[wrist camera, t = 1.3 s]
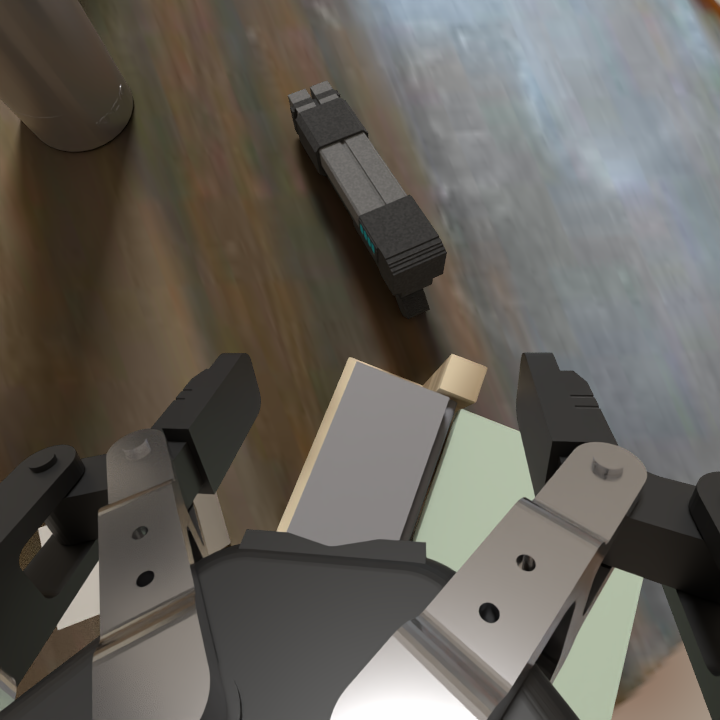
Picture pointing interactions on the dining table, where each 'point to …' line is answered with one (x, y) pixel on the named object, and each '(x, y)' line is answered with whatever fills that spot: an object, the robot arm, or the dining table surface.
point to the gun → (370, 195)
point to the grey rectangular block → (88, 595)
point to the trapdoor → (447, 505)
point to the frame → (449, 380)
